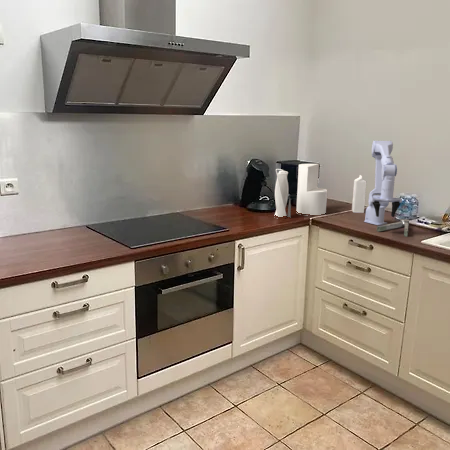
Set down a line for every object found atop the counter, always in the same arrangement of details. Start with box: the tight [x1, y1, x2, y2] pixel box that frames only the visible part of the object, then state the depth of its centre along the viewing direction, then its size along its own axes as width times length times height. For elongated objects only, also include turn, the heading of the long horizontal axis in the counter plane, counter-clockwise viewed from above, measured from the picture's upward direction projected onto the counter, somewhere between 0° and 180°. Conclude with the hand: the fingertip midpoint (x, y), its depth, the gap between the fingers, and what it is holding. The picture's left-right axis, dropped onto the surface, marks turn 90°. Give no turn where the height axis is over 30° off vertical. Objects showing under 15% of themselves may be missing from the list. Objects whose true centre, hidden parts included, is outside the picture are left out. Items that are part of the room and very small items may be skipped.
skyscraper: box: [274, 168, 292, 218], centre depth 256 cm, size 8×8×28 cm
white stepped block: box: [296, 163, 328, 216], centre depth 269 cm, size 17×17×28 cm
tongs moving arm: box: [376, 221, 407, 232], centre depth 236 cm, size 21×3×2 cm, turn 124°
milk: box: [351, 174, 367, 214], centre depth 273 cm, size 6×6×22 cm
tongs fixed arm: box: [399, 218, 410, 237], centre depth 234 cm, size 24×4×3 cm, turn 159°
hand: (385, 216), depth 227 cm, fingers open, 7 cm apart
